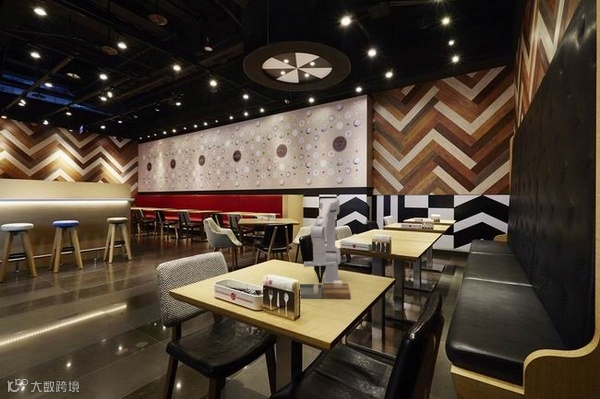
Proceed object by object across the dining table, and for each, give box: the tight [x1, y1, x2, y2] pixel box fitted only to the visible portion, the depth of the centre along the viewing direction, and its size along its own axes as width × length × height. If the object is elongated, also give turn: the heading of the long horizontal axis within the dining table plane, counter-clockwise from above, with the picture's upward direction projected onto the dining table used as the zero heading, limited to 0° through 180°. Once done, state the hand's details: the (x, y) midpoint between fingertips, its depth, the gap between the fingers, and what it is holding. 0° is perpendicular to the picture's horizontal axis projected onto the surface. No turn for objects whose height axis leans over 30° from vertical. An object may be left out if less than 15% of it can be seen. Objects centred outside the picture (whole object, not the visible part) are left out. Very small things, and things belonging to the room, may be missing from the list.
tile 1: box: [313, 283, 319, 294], centre depth 120 cm, size 4×4×2 cm
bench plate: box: [322, 282, 351, 300], centre depth 122 cm, size 14×12×2 cm
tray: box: [299, 283, 323, 300], centre depth 123 cm, size 14×12×2 cm
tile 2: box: [333, 280, 343, 288], centre depth 125 cm, size 4×4×2 cm
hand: (320, 282), depth 120 cm, fingers closed
